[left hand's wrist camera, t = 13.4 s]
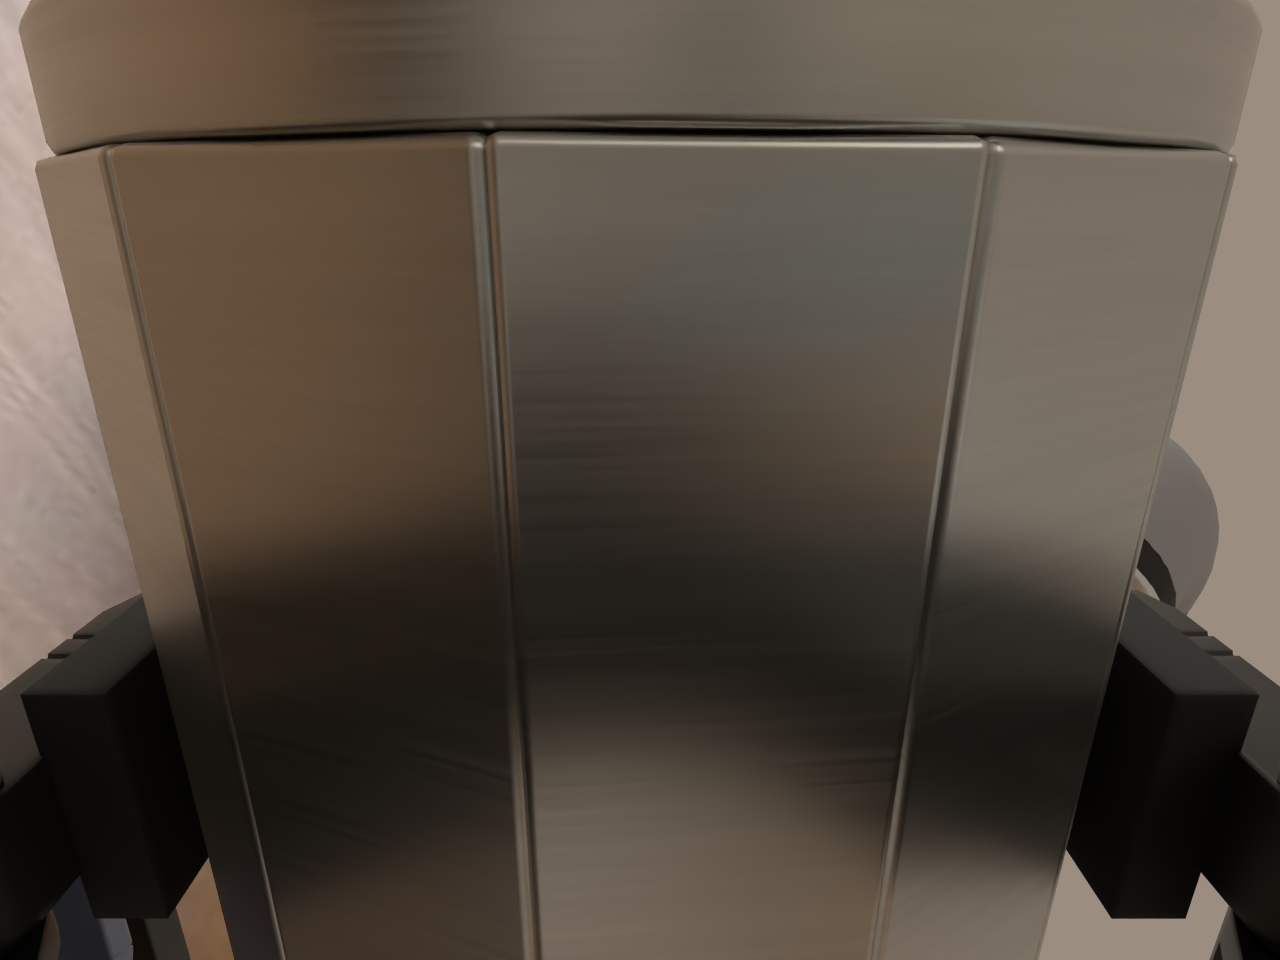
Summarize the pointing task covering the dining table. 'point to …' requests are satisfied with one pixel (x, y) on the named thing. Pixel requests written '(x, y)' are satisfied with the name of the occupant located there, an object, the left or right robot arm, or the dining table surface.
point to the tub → (89, 930)
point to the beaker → (636, 444)
